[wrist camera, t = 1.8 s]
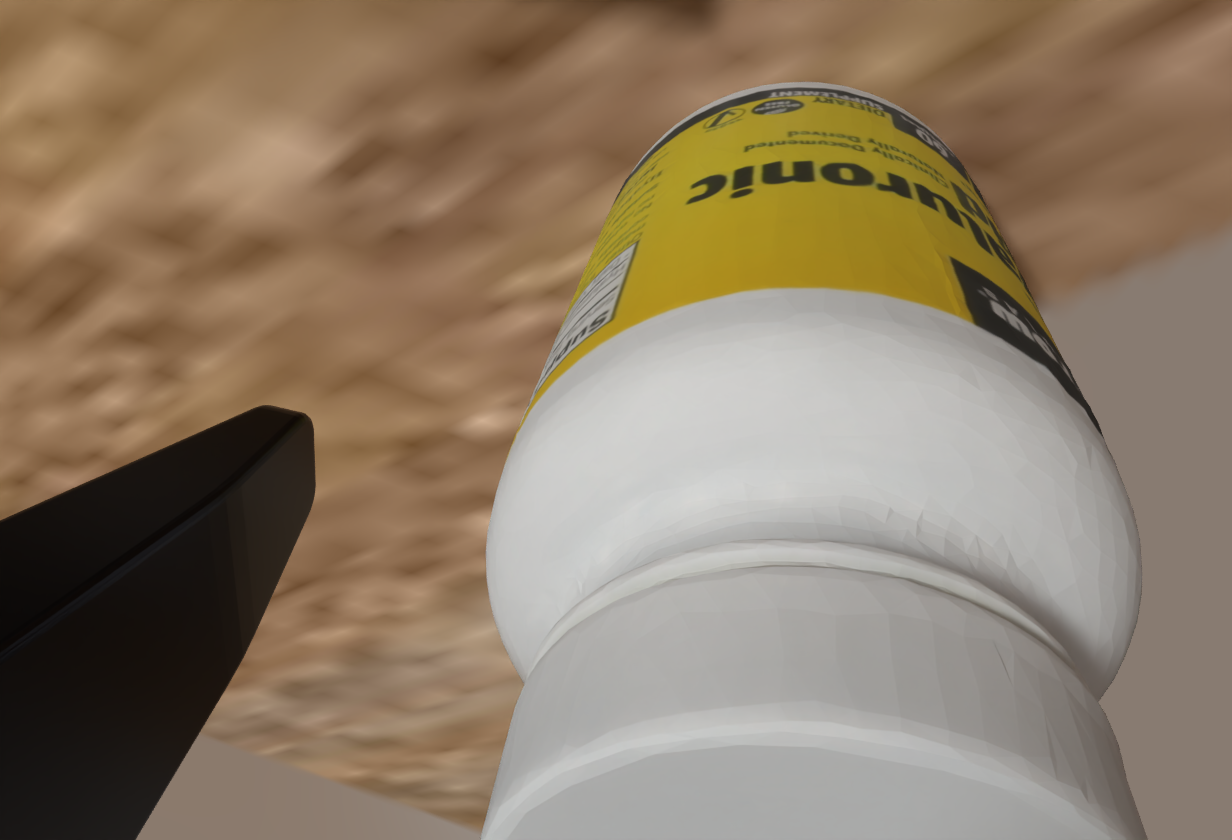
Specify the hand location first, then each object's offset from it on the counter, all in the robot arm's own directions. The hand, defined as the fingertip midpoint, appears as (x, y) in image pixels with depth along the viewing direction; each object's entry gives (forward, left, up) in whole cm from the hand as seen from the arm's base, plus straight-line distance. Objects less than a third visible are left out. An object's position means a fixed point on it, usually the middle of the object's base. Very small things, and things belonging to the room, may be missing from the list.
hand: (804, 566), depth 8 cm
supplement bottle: (0, 0, -7) cm, 7 cm away
